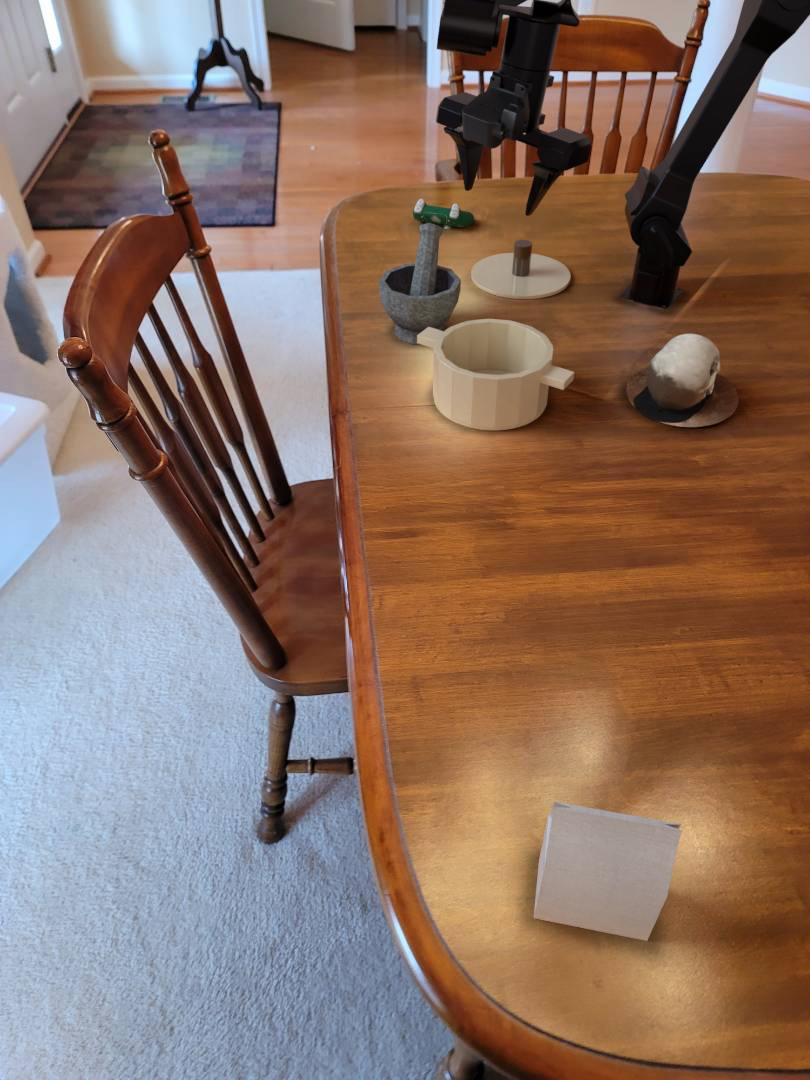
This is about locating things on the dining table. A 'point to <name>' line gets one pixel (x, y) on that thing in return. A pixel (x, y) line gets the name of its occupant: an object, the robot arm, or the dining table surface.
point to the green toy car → (442, 215)
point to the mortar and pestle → (420, 290)
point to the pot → (492, 373)
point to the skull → (684, 385)
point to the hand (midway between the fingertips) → (497, 202)
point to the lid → (520, 274)
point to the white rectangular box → (604, 870)
